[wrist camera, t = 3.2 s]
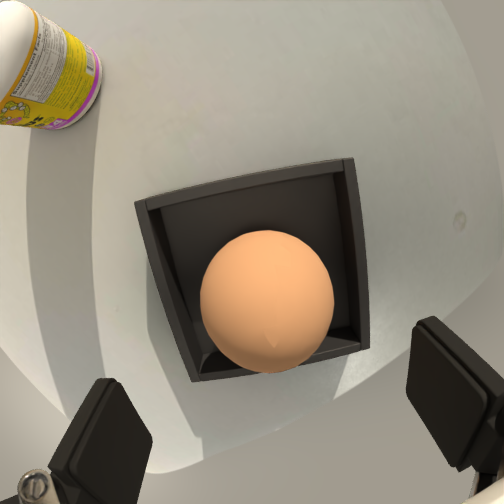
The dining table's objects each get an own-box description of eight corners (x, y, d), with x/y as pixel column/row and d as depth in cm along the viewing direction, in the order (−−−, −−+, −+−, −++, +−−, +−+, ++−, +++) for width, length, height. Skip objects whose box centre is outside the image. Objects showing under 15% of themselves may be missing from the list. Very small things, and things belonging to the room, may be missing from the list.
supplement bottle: (24, 118, 16) (-104, 108, 4) (60, 42, 15) (-50, -14, 2) (80, 143, 17) (-71, 137, 5) (122, 57, 16) (7, -30, 3)
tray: (338, 158, 18) (353, 157, 15) (357, 329, 21) (370, 348, 18) (148, 197, 18) (133, 202, 16) (196, 359, 22) (191, 382, 19)
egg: (197, 299, 20) (167, 385, 11) (230, 203, 18) (216, 233, 10) (289, 329, 21) (313, 421, 12) (329, 241, 19) (389, 296, 10)
